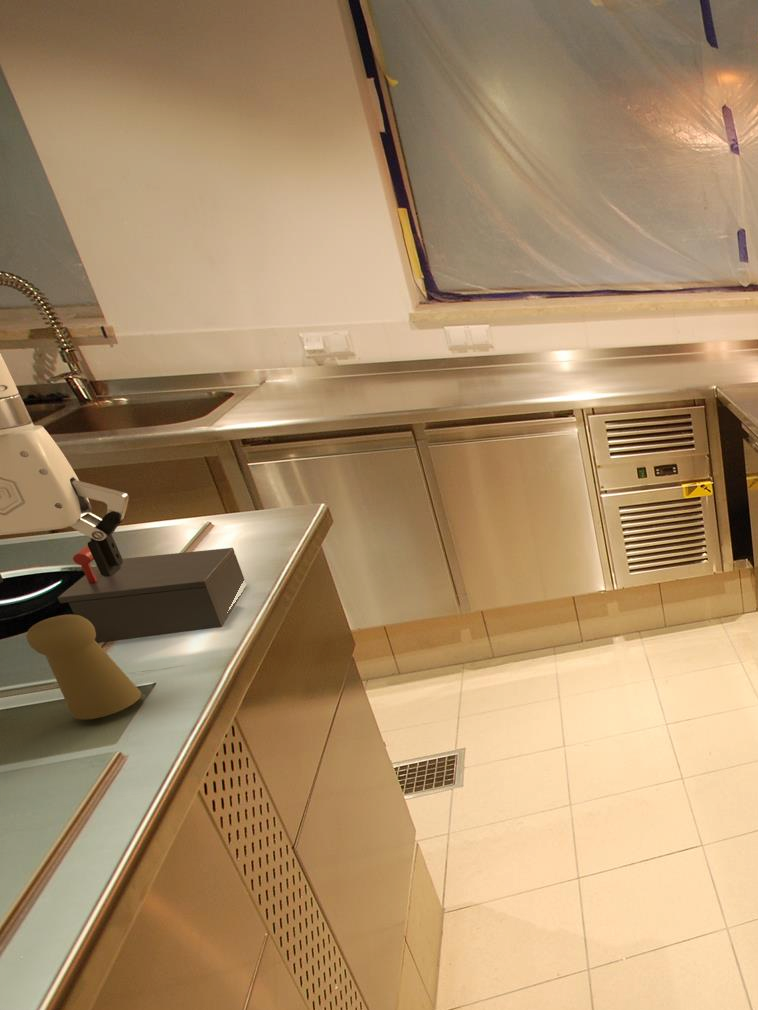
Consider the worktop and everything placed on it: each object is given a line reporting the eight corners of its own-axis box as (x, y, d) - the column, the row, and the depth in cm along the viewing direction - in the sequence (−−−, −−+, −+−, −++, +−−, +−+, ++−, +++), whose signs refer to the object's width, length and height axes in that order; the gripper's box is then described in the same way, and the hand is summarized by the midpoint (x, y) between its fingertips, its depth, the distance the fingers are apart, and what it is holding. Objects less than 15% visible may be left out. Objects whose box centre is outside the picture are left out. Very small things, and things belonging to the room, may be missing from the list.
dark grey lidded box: (91, 651, 108) (68, 602, 105) (132, 610, 120) (112, 565, 117) (224, 634, 114) (206, 587, 111) (250, 596, 126) (235, 552, 123)
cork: (59, 723, 93) (0, 639, 87) (90, 693, 98) (35, 611, 92) (124, 714, 94) (70, 630, 88) (151, 685, 99) (101, 604, 93)
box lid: (59, 603, 105) (42, 566, 103) (104, 565, 117) (90, 532, 115) (206, 586, 111) (192, 551, 109) (235, 552, 123) (223, 520, 121)
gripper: (-178, 432, 76) (-78, 605, 83) (74, 417, 83) (145, 578, 90) (-127, 418, 82) (-39, 580, 89) (103, 405, 89) (167, 557, 96)
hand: (53, 579), depth 90 cm, fingers open, 9 cm apart
